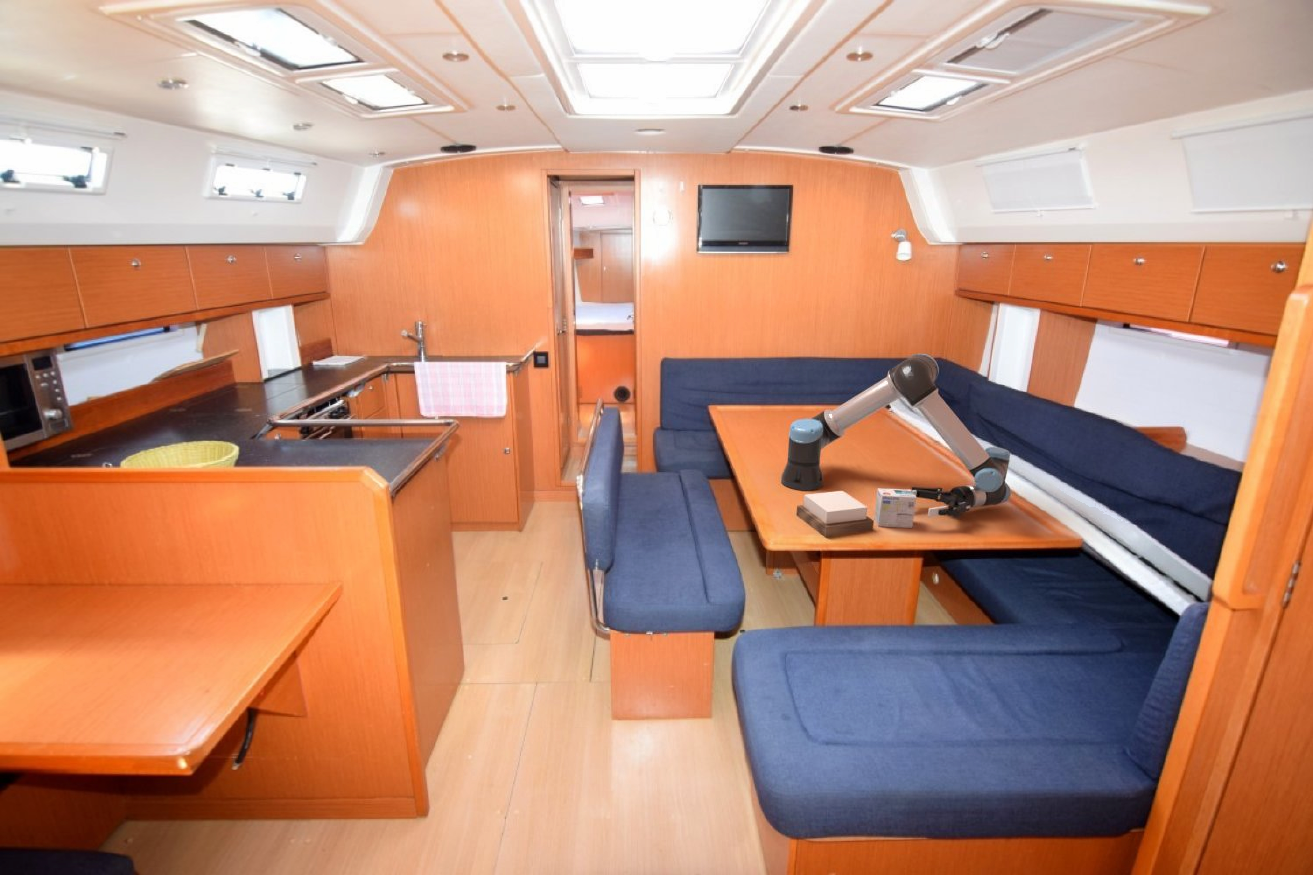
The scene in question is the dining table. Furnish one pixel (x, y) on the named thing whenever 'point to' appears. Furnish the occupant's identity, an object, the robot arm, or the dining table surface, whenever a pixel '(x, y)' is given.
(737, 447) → the dining table surface
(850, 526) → the walnut slab
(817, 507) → the white slab
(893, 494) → the light bulb box
